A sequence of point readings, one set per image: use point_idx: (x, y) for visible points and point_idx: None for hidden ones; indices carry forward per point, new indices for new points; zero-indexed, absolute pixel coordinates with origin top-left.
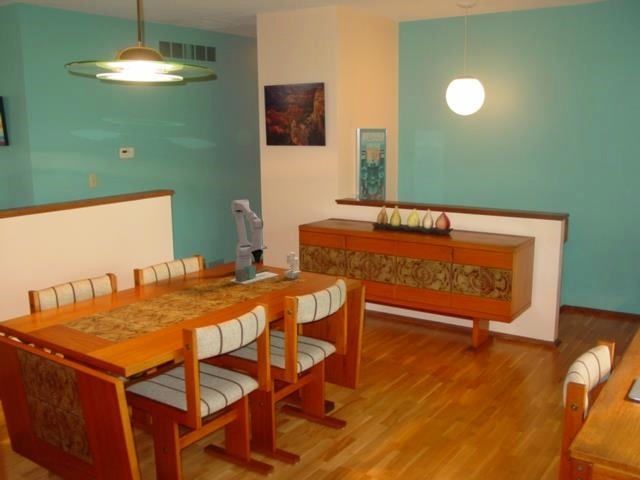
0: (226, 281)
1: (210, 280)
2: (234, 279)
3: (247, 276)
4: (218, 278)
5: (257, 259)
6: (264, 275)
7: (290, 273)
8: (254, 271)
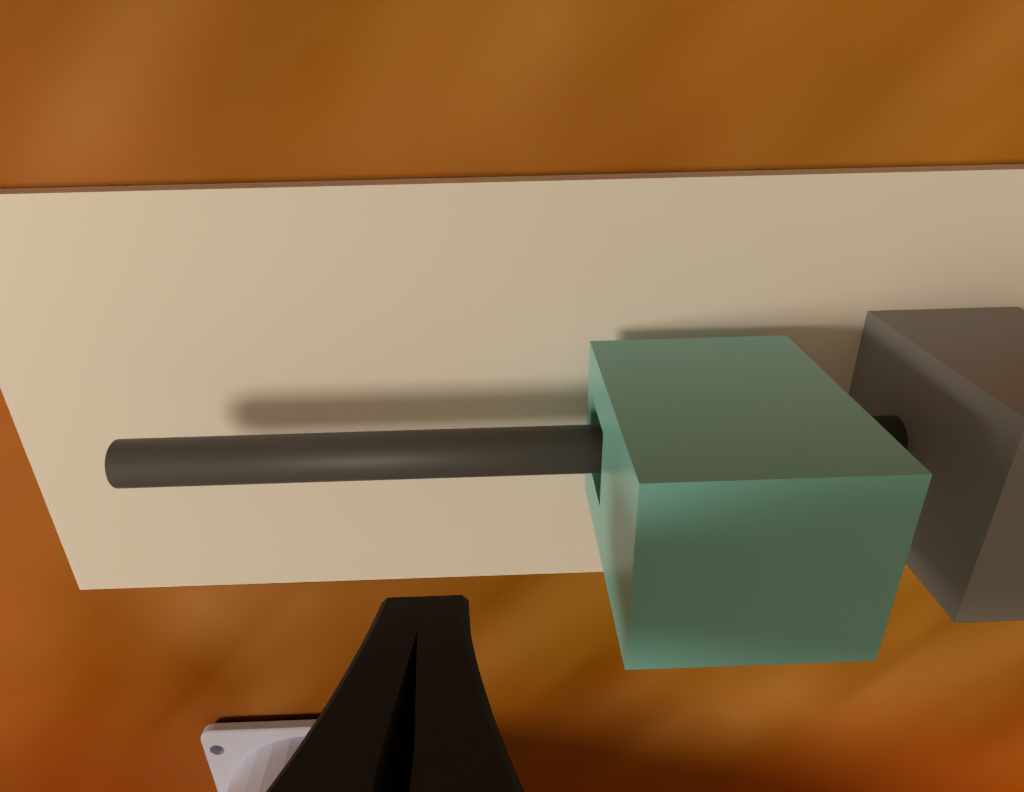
0: None
1: (1017, 747)
2: None
3: None
4: (865, 756)
5: (487, 698)
6: (281, 379)
7: None
8: (652, 403)
